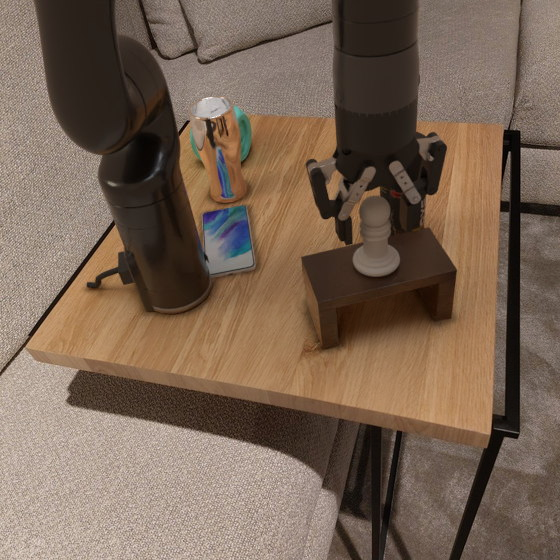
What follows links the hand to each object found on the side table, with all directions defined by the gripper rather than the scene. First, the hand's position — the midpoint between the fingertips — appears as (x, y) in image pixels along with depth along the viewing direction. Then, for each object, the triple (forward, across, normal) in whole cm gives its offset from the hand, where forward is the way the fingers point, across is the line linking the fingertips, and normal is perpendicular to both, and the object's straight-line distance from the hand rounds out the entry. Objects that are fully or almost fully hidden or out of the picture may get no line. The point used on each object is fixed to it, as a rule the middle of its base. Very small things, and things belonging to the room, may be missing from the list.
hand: (376, 233), depth 64 cm
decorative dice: (+13, +13, -43) cm, 47 cm away
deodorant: (+13, -8, -12) cm, 19 cm away
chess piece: (+5, 0, 0) cm, 5 cm away
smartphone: (+13, +16, -20) cm, 29 cm away
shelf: (+12, 0, 0) cm, 12 cm away
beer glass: (+13, +14, -32) cm, 37 cm away
